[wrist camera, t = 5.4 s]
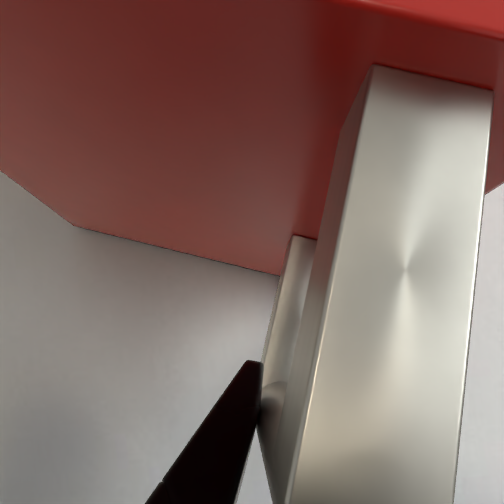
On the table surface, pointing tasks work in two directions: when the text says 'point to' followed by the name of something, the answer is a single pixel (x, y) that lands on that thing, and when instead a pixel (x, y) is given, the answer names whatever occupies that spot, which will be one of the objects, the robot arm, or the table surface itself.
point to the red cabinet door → (289, 196)
